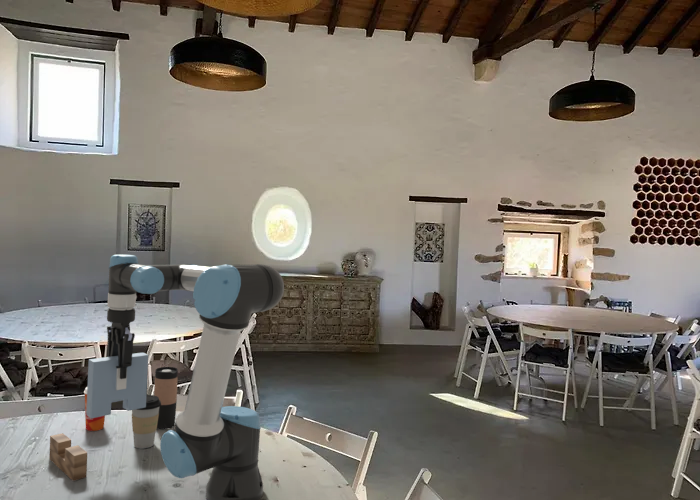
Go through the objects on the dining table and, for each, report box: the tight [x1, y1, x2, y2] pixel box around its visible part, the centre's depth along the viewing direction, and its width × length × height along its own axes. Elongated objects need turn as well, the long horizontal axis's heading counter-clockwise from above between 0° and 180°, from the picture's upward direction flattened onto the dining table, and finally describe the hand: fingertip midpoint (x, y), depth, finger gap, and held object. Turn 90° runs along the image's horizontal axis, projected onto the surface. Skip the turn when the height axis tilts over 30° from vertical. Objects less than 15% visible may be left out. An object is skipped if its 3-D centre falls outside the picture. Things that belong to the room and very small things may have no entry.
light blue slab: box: [86, 352, 149, 418], centre depth 161 cm, size 4×16×16 cm, turn 136°
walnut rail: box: [48, 433, 88, 482], centre depth 157 cm, size 18×4×7 cm, turn 47°
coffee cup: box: [131, 394, 161, 450], centre depth 176 cm, size 9×9×15 cm
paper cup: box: [83, 386, 106, 432], centre depth 187 cm, size 8×8×14 cm
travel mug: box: [153, 366, 179, 430], centre depth 193 cm, size 8×8×20 cm
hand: (117, 387), depth 161 cm, fingers closed on light blue slab, 3 cm apart
